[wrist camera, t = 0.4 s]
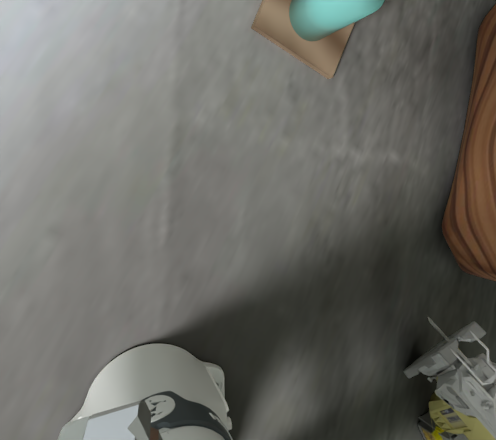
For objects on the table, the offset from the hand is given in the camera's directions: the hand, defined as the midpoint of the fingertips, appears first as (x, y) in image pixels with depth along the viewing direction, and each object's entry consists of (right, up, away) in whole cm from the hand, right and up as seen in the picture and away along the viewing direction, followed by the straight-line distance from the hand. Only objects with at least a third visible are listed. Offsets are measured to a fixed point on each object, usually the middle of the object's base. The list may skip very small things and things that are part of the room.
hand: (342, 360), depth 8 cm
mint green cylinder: (+6, +28, +41) cm, 50 cm away
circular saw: (+25, -24, +58) cm, 68 cm away
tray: (+5, +28, +42) cm, 51 cm away
